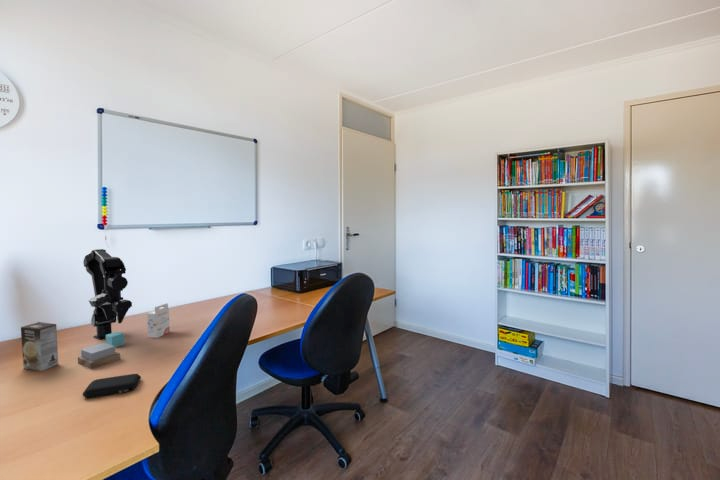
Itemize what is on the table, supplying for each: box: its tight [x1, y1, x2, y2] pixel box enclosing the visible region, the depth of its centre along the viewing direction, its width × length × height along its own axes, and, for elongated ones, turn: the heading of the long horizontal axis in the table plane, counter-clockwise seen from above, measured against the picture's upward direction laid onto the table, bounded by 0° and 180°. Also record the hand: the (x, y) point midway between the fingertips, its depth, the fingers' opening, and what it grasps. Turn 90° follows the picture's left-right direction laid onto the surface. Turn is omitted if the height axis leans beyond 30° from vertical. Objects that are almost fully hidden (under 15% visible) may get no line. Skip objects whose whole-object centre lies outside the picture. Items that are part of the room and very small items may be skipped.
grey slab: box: [80, 342, 116, 361], centre depth 134 cm, size 8×8×3 cm
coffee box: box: [20, 321, 59, 372], centre depth 129 cm, size 9×6×16 cm
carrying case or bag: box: [82, 373, 142, 399], centre depth 113 cm, size 11×3×15 cm
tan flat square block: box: [77, 351, 121, 370], centre depth 134 cm, size 10×10×3 cm
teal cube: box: [105, 331, 126, 348], centre depth 151 cm, size 5×5×5 cm
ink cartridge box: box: [146, 303, 171, 339], centre depth 163 cm, size 9×5×15 cm, turn 168°
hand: (114, 321), depth 150 cm, fingers open, 9 cm apart
